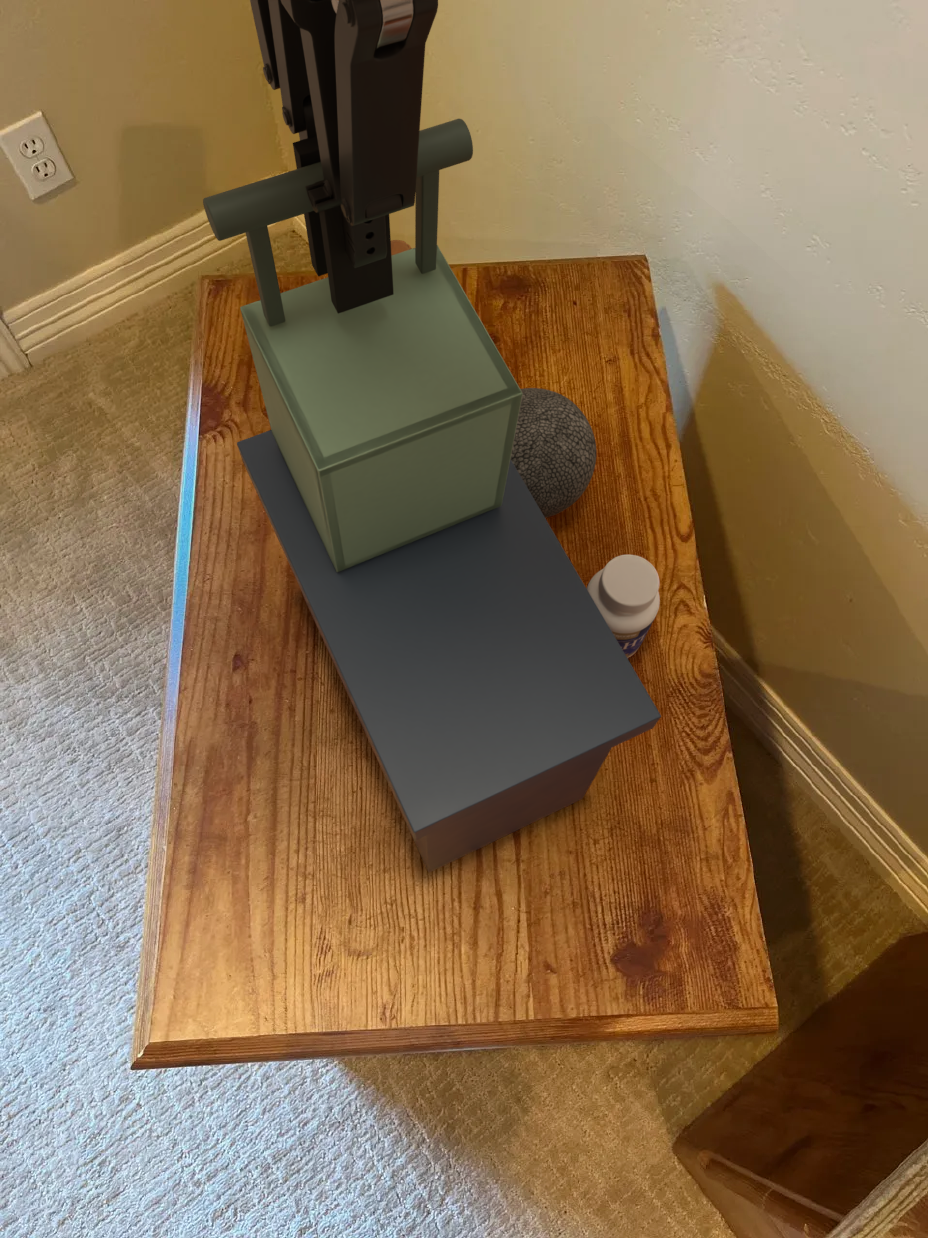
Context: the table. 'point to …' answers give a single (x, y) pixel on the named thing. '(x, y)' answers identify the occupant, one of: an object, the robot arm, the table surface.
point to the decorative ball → (553, 449)
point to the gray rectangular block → (466, 663)
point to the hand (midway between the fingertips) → (352, 278)
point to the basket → (377, 375)
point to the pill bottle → (627, 598)
